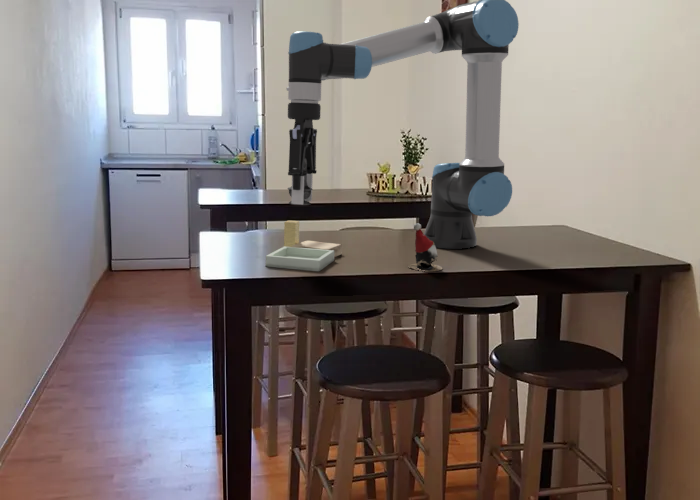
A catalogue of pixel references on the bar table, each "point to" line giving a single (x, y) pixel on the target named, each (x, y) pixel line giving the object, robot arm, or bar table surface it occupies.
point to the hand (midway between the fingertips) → (301, 202)
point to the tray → (300, 258)
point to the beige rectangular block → (320, 246)
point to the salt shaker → (306, 189)
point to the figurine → (424, 252)
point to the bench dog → (291, 233)
